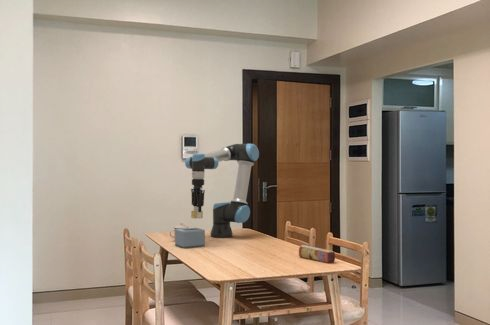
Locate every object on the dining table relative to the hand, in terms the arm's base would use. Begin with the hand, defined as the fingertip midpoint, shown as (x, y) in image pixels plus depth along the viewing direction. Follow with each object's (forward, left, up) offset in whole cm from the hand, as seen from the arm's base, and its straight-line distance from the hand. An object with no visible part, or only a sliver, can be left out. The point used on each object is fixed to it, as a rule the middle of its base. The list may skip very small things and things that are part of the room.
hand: (197, 217), depth 312 cm
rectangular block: (0, 0, -1) cm, 1 cm away
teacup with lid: (+2, -21, -18) cm, 28 cm away
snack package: (-35, +71, -18) cm, 81 cm away
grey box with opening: (+4, -1, -17) cm, 18 cm away
